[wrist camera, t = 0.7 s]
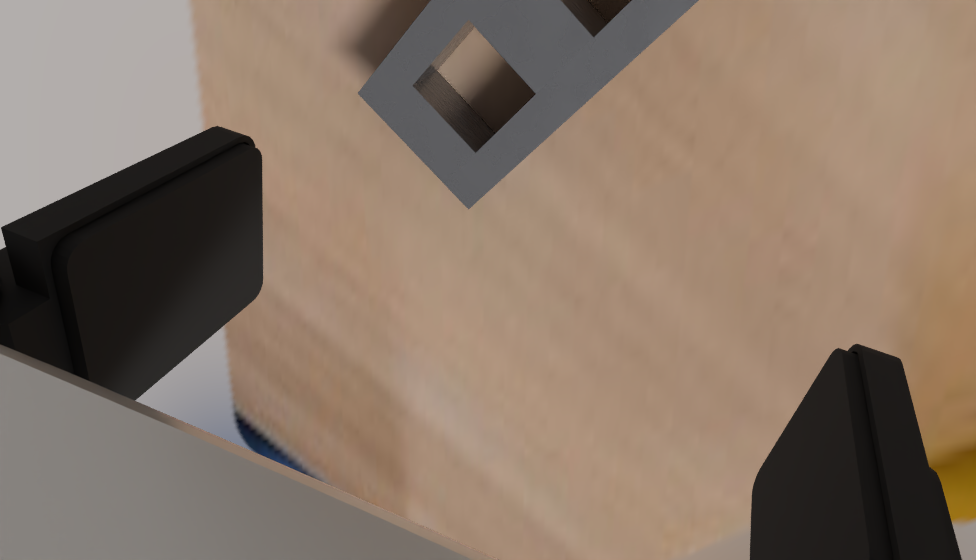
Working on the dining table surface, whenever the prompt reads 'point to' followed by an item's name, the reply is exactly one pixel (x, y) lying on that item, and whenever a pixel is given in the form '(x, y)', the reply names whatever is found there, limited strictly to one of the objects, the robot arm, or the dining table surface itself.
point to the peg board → (536, 59)
